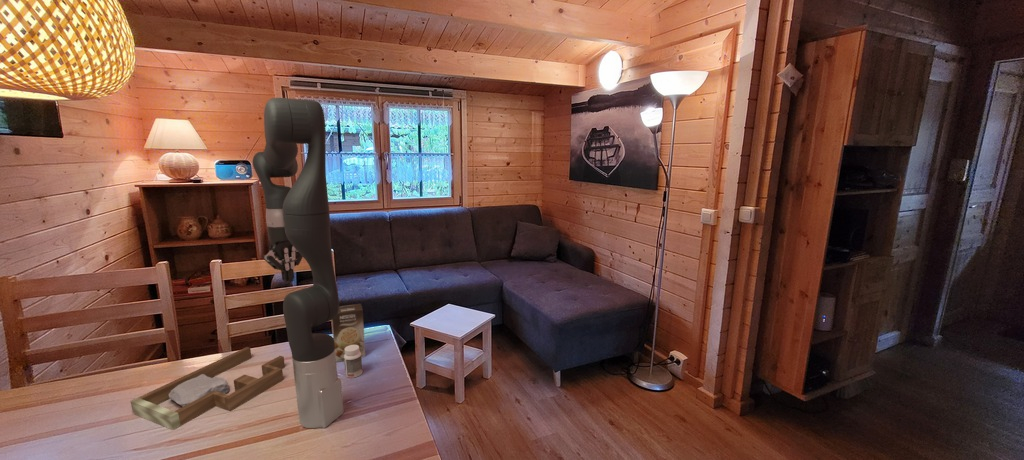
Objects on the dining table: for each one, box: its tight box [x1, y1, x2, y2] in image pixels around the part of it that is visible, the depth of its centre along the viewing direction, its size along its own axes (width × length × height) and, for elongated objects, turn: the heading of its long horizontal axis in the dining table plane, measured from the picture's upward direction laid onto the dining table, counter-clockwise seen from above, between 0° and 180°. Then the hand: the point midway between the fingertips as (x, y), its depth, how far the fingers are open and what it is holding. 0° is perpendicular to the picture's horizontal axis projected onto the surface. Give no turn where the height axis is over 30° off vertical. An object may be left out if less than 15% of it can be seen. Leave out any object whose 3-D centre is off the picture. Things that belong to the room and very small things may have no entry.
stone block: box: [169, 374, 230, 408], centre depth 104 cm, size 12×5×10 cm
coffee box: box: [331, 303, 366, 363], centre depth 125 cm, size 9×6×16 cm
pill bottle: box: [343, 345, 363, 379], centre depth 115 cm, size 5×5×8 cm
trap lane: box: [130, 346, 286, 431], centre depth 107 cm, size 22×30×4 cm
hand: (288, 281), depth 115 cm, fingers closed
